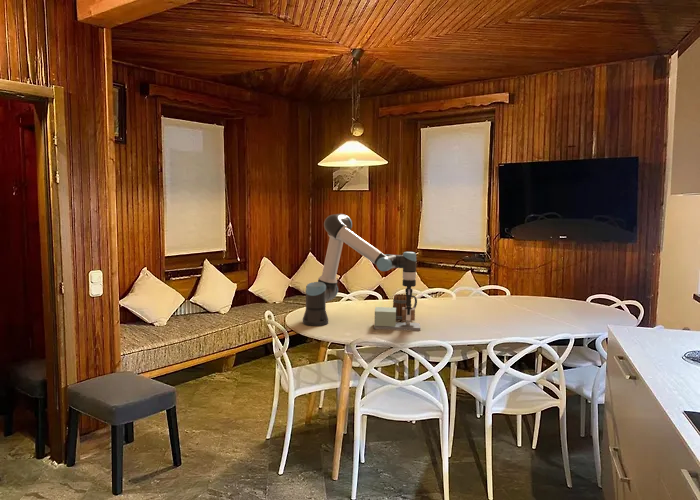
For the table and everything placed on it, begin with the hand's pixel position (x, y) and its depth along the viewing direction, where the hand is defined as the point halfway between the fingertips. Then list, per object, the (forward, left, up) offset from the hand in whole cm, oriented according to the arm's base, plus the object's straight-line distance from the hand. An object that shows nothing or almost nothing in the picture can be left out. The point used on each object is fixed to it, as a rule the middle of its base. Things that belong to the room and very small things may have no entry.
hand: (408, 318), depth 315 cm
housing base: (-6, 0, -5) cm, 8 cm away
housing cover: (-13, 0, -3) cm, 14 cm away
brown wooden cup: (0, 0, 0) cm, 0 cm away
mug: (-2, +21, -6) cm, 21 cm away
